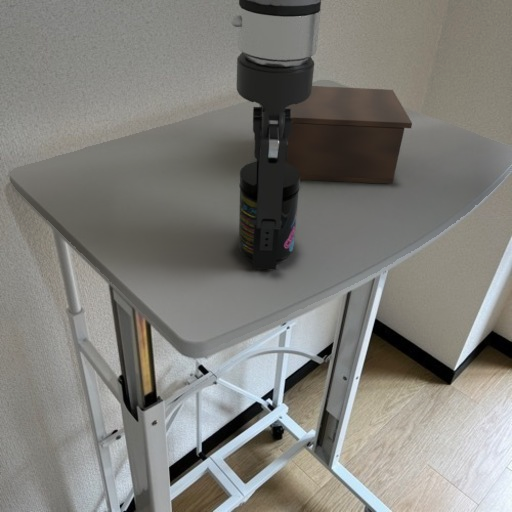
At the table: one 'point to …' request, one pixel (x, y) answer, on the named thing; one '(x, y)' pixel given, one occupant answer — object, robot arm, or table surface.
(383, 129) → the chest
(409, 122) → the lid
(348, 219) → the table surface
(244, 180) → the supplement container
